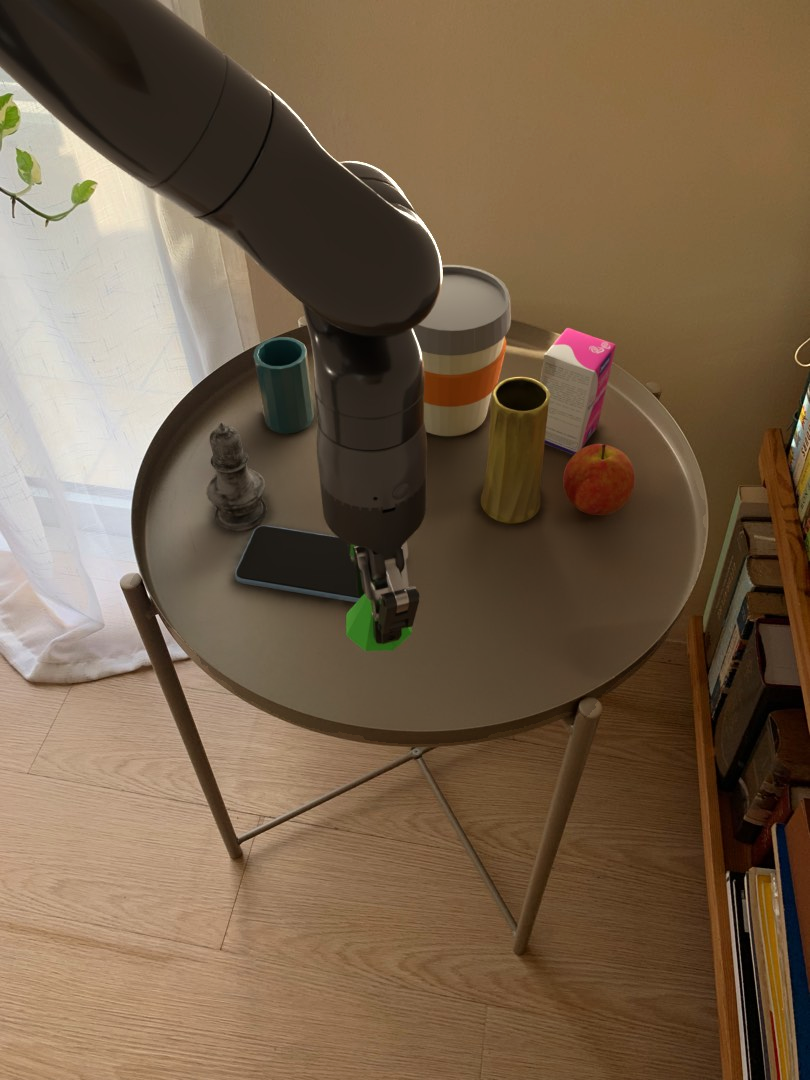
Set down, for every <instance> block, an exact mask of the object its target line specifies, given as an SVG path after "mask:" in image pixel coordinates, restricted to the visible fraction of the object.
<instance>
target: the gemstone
mask: <svg viewBox="0 0 810 1080" xmlns="http://www.w3.org/2000/svg"><path fill="white" fill-rule="evenodd" d="M376 581H377V580H376ZM378 581H379V580H378ZM379 601H380V604H381V600H379ZM371 611H372V607H371V600H369V599H368V598H367V597H366V595H365V593H364V595H363V596H362V597H361V598H360V599H359V600H358V601H357V602H355V604H354V605H353V606H352V607H351V608H350V609H349V611H347V613H346V619H345V621H346V622H345V624H346V626H345V636H346V637H347V638H348V639H350V640H351V641H352V642H353V643H354V644H356V645H357V646H358V647H359V648H361V649H362V651H365V652H385V651H387V652H388V651H390V652H391V651H394V650H396V649H397V648H398V647H399V646H400V645H402V643H404V642H405V641H406V640H407V639H408V638H410V636H411V635H413V626H412V627H408V628H402V635H401V637H400V638H399V640H396V641H393V642H389V643H385V644H378V643H376V641H375V638H374V635H373V617H372V614H371Z"/></svg>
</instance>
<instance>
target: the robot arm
mask: <svg viewBox="0 0 810 1080" xmlns="http://www.w3.org/2000/svg"><path fill="white" fill-rule="evenodd" d="M0 69H2V70H3V71H4V72H5V73H6V74H7V75H9V76H10V78H12V80H14V81H15V82H16V83H17V84H18V85H19V86H20V87H21V88H22V89H23V90H25V91H26V93H28V94H29V95H30V96H31V97H32V98H33V99H34V100H36V102H38V103H39V104H40V105H41V106H42V107H43V108H44V109H45V110H46V111H47V112H48V113H50V114H51V115H52V116H53V117H54V118H56V120H58V122H59V123H61V124H62V125H63V126H64V127H66V128H67V129H68V130H70V132H71V133H73V134H74V135H75V136H76V137H78V138H79V139H80V140H82V141H83V142H84V143H85V144H87V145H88V146H89V147H90V148H91V149H92V150H94V151H95V152H96V153H98V154H99V155H101V156H102V157H103V158H104V159H106V160H107V161H109V162H110V163H112V164H113V165H114V166H116V167H117V168H118V169H120V170H121V171H122V172H124V173H126V174H127V175H128V176H129V177H131V178H133V179H134V180H136V181H138V182H139V183H141V184H142V185H144V186H145V187H146V188H148V189H150V190H151V191H152V192H154V193H155V194H158V195H159V196H160V197H162V198H164V199H165V200H167V201H168V202H170V203H171V204H173V205H174V206H176V207H177V208H179V209H181V210H182V211H184V212H186V213H187V214H188V215H190V216H192V217H194V218H195V219H196V220H198V221H200V222H201V223H204V224H205V225H207V226H208V227H210V228H212V229H215V231H218V232H219V233H221V234H222V235H223V236H225V237H227V238H228V239H229V240H230V241H231V242H232V243H234V244H235V245H237V246H238V247H239V249H241V250H242V251H243V252H244V253H245V254H246V255H247V256H248V257H250V259H251V260H253V261H254V262H255V264H257V266H259V267H260V268H261V269H262V270H263V271H264V272H266V273H267V274H268V275H269V276H270V277H271V278H273V280H275V281H276V282H277V283H278V284H279V285H280V286H282V288H284V289H285V290H286V291H287V292H289V293H290V294H291V296H293V297H294V298H295V299H297V300H298V301H299V302H301V304H302V309H303V313H304V318H305V322H306V326H307V330H308V334H309V338H310V339H309V340H310V344H311V350H312V351H311V352H312V360H313V385H314V397H315V408H316V418H317V431H316V457H317V466H318V476H319V484H320V495H321V504H322V514H323V518H324V522H325V523H326V525H327V527H328V528H329V530H330V531H331V532H332V533H333V534H334V535H335V536H336V537H339V538H340V539H342V540H344V541H345V542H346V545H347V548H348V551H349V554H350V559H351V562H353V564H354V566H355V578H356V590H357V593H358V595H359V597H362V596H363V595H364V593H365V595H366V597H367V598H368V599H369V600H371V607H372V611H371V614H372V617H373V635H374V638H375V641H376V643H378V644H385V643H389V642H393V641H396V640H399V638H400V637H401V635H402V628H408V627H412V628H413V626H414V623H415V620H416V615H417V611H418V607H419V604H420V597H421V596H420V592H419V590H418V589H417V588H416V586H410V581H409V574H408V565H407V564H408V563H407V560H408V558H409V555H410V553H409V545H408V540H409V539H410V538H411V537H412V536H413V535H414V534H415V533H416V532H417V531H418V530H419V529H420V527H421V525H422V524H423V522H424V519H425V517H426V510H427V477H428V476H427V475H428V473H427V471H428V437H427V432H426V429H425V423H424V384H425V374H424V362H423V356H422V352H421V348H420V346H419V343H418V341H417V338H416V336H415V333H414V331H413V328H414V327H416V326H417V325H418V324H420V323H421V322H422V321H423V320H424V319H425V318H426V317H427V316H428V315H429V313H430V312H431V311H432V309H433V307H434V306H435V304H436V302H437V299H438V297H439V294H440V290H441V284H442V265H443V264H442V259H441V254H440V251H439V248H438V246H437V243H436V240H435V239H434V237H433V235H432V233H431V232H430V230H429V229H428V228H427V226H426V225H425V223H424V221H423V220H422V219H421V217H420V216H419V214H418V213H417V212H416V210H415V209H414V207H413V206H412V204H411V203H410V201H409V199H408V198H407V197H406V195H405V193H404V192H403V190H402V189H401V188H400V187H399V186H398V184H397V183H396V182H395V181H394V180H393V179H392V178H391V177H390V176H389V175H388V174H386V173H385V172H384V171H382V170H381V169H379V168H377V167H375V166H374V165H371V164H368V163H365V162H362V161H361V162H360V161H351V160H349V161H340V162H339V161H337V160H336V159H335V158H333V156H332V155H330V154H329V152H327V150H325V149H324V148H323V147H322V145H321V144H320V142H319V141H317V139H316V138H315V136H314V135H313V133H312V132H311V130H309V128H308V126H306V124H305V123H304V121H303V120H302V119H301V118H300V117H299V115H298V114H297V113H296V112H295V111H294V110H293V109H292V108H291V107H290V106H289V105H288V104H287V102H285V101H284V100H283V99H282V98H281V97H280V96H278V95H277V94H276V93H275V92H273V91H272V90H271V89H270V88H268V87H267V85H265V84H264V83H263V82H262V81H260V80H259V79H258V78H256V77H255V76H254V75H253V74H252V73H251V72H249V71H248V70H247V69H246V68H244V67H243V66H242V65H240V64H239V63H238V62H237V61H235V60H234V59H233V58H232V57H231V56H230V55H229V54H227V53H225V51H223V50H222V49H221V48H220V47H218V46H217V45H215V44H214V43H213V42H212V41H211V40H209V38H207V37H206V36H204V35H203V34H202V33H201V32H199V31H198V30H197V29H196V28H194V27H193V26H192V25H190V24H189V23H188V22H186V21H185V20H184V19H183V18H181V17H180V16H179V15H178V14H177V13H175V12H174V11H173V10H171V9H170V8H169V7H167V6H166V5H165V4H163V2H161V1H160V0H0ZM376 580H377V581H376ZM378 580H379V581H378ZM379 600H381V604H380V601H379Z"/></svg>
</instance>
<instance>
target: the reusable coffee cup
mask: <svg viewBox="0 0 810 1080" xmlns="http://www.w3.org/2000/svg"><path fill="white" fill-rule="evenodd" d="M511 311H512V310H511V295H510V291H509V289H508V288H507V286H506V284H505V283H504V282H503V281H502V280H501V279H500V278H499V277H497V276H496V275H494V274H492V273H490V272H489V271H487V270H484V269H480V268H477V267H474V266H468V265H461V264H442V284H441V290H440V294H439V297H438V299H437V302H436V304H435V306H434V307H433V309H432V311H431V312H430V313H429V315H428V316H427V317H426V318H425V319H424V320H423V321H422V322H421V323H420V324H418V325H417V326H416V327H414V328H413V331H414V333H415V336H416V338H417V341H418V343H419V346H420V348H421V352H422V356H423V362H424V374H425V384H424V423H425V429H426V433H429V434H431V435H436V436H440V437H457V436H463V435H466V434H468V433H471V432H473V431H475V430H476V429H478V428H479V427H480V426H481V425H482V424H483V423H484V422H485V420H486V418H487V416H488V415H487V414H488V410H489V406H490V402H491V399H492V395H493V391H494V389H495V387H496V386H497V385H498V384H499V380H500V375H501V372H502V367H503V363H504V359H505V355H506V351H507V340H506V336H507V334H508V333H509V330H510V328H511V323H512V315H511V314H512V312H511Z"/></svg>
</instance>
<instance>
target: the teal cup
mask: <svg viewBox="0 0 810 1080" xmlns="http://www.w3.org/2000/svg"><path fill="white" fill-rule="evenodd" d="M253 351H254V352H253V355H252V357H253V363H254V367H255V373H256V380H257V386H258V390H259V391H258V392H259V397H260V403H261V408H262V409H261V410H262V414H263V417H264V423H265V425H266V426H267V427H268V428H269V429H270V430H271V431H273V432H275V433H279V434H289V435H290V434H295V433H299V432H301V431H304V430H305V429H307V428H308V427H309V426H310V425H311V424H312V423H313V421H314V418H315V409H314V399H313V392H312V384H311V375H310V368H309V367H310V366H309V359H308V350H307V348H306V346H305V344H304V343H303V342H301V341H300V340H298V339H296V338H293V337H288V336H287V337H286V336H277V337H273V338H268V339H267V340H264V341H262V342H261V343H259V344H258V345H257V346H256V347H255V349H254V350H253Z"/></svg>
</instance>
